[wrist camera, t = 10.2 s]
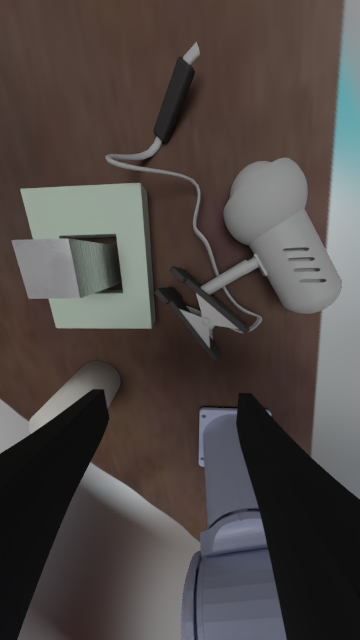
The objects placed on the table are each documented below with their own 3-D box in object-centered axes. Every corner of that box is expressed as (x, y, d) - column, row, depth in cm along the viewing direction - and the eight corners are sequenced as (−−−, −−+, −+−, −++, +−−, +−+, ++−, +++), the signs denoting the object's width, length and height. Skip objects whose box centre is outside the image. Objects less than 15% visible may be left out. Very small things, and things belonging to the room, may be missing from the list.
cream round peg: (122, 396, 22) (93, 457, 15) (83, 394, 22) (37, 453, 15) (118, 361, 20) (82, 411, 14) (76, 359, 20) (21, 408, 14)
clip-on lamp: (116, 191, 18) (208, 353, 18) (56, 143, 12) (197, 387, 12) (227, 85, 14) (339, 292, 14) (226, -70, 8) (419, 297, 8)
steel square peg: (123, 282, 17) (80, 298, 11) (90, 282, 17) (28, 298, 11) (118, 246, 16) (68, 238, 10) (84, 246, 16) (11, 240, 10)
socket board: (155, 321, 18) (151, 328, 16) (69, 320, 19) (56, 328, 17) (147, 192, 15) (140, 182, 13) (41, 197, 15) (20, 188, 13)
